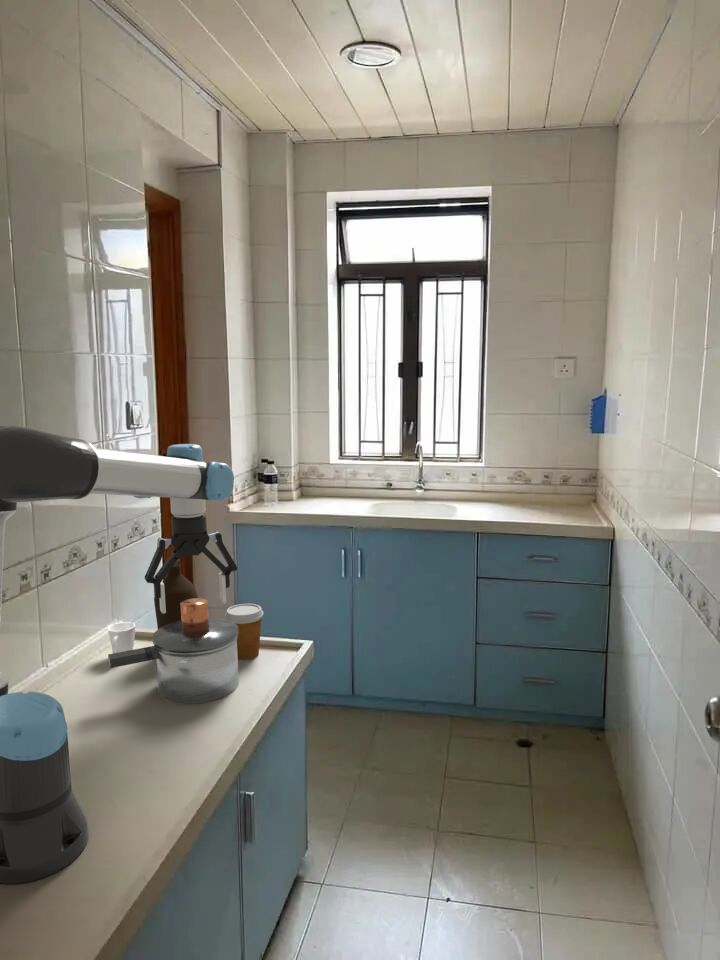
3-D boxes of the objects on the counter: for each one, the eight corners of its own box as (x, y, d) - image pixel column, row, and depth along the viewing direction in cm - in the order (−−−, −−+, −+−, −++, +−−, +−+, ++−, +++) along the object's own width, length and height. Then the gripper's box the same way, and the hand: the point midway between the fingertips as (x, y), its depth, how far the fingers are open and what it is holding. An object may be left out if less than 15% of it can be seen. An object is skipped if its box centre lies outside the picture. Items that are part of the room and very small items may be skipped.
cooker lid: (161, 659, 149) (159, 623, 148) (145, 630, 166) (143, 597, 164) (249, 642, 157) (247, 607, 156) (225, 616, 174) (223, 584, 173)
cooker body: (119, 723, 147) (114, 668, 145) (107, 687, 163) (103, 638, 161) (250, 692, 159) (248, 642, 157) (227, 662, 176) (224, 616, 174)
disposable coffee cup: (257, 663, 175) (255, 616, 173) (221, 660, 177) (218, 614, 175) (270, 648, 184) (268, 603, 182) (235, 646, 186) (233, 602, 184)
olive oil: (164, 667, 174) (157, 568, 170) (153, 652, 183) (146, 558, 179) (206, 657, 179) (200, 561, 175) (193, 643, 188) (187, 552, 184)
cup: (141, 650, 184) (139, 621, 183) (129, 667, 174) (127, 635, 173) (114, 651, 184) (112, 621, 183) (101, 667, 174) (98, 636, 173)
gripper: (238, 505, 166) (242, 593, 169) (127, 517, 155) (133, 610, 158) (248, 511, 159) (252, 602, 162) (132, 523, 148) (139, 620, 151)
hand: (193, 606), depth 160 cm, fingers open, 13 cm apart
